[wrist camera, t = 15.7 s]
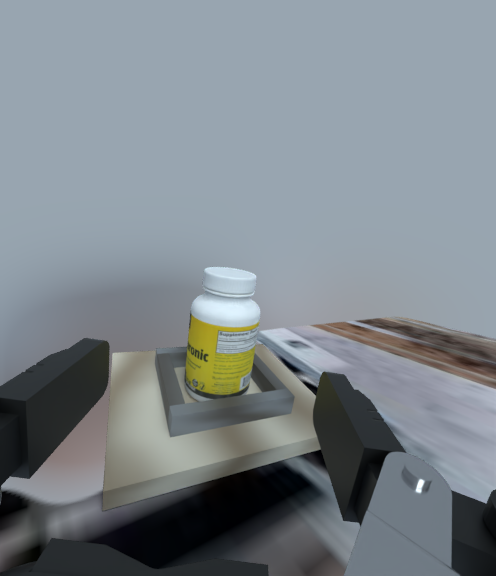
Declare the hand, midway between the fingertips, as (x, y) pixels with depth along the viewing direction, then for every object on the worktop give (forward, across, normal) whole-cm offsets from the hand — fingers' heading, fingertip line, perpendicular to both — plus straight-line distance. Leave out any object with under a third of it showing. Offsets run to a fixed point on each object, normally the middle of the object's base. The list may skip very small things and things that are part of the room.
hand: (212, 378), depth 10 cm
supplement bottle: (+11, 0, +8) cm, 13 cm away
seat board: (+11, 0, +9) cm, 14 cm away
